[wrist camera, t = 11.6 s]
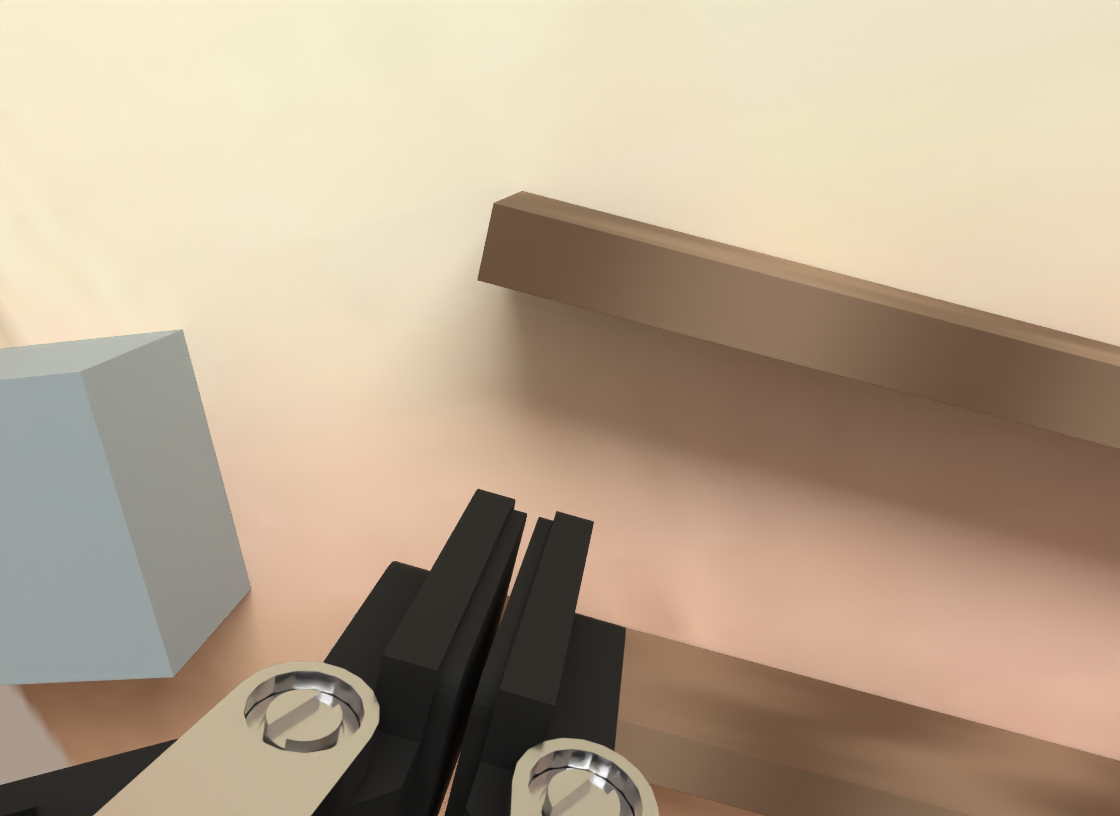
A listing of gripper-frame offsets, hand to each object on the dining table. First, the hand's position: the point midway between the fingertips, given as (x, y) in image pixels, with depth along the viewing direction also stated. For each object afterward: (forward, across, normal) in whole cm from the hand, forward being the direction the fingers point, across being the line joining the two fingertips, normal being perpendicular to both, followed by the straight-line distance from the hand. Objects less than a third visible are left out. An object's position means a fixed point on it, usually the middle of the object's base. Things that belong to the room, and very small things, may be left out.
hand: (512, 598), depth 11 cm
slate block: (+6, +11, +4) cm, 13 cm away
